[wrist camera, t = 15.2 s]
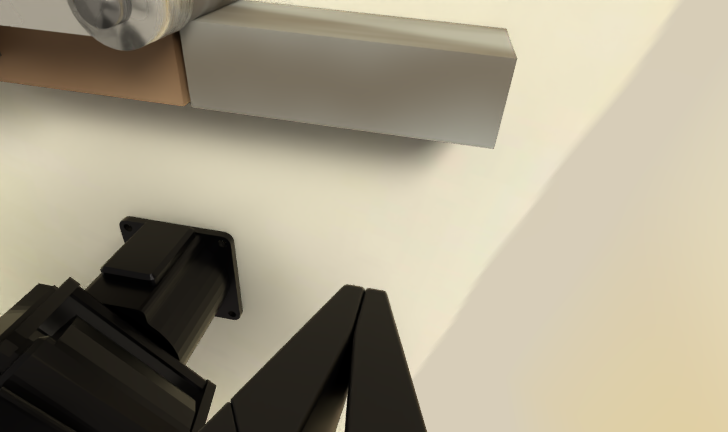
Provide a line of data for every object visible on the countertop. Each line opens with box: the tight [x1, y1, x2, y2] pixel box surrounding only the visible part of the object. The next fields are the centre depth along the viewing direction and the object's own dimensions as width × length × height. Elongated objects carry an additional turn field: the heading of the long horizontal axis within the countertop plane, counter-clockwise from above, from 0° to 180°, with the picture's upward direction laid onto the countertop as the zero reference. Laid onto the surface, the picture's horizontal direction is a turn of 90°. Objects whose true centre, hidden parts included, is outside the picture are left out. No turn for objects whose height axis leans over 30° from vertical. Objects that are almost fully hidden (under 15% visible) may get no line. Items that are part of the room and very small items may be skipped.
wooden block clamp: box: [0, 0, 517, 149], centre depth 16 cm, size 5×22×6 cm, turn 86°
